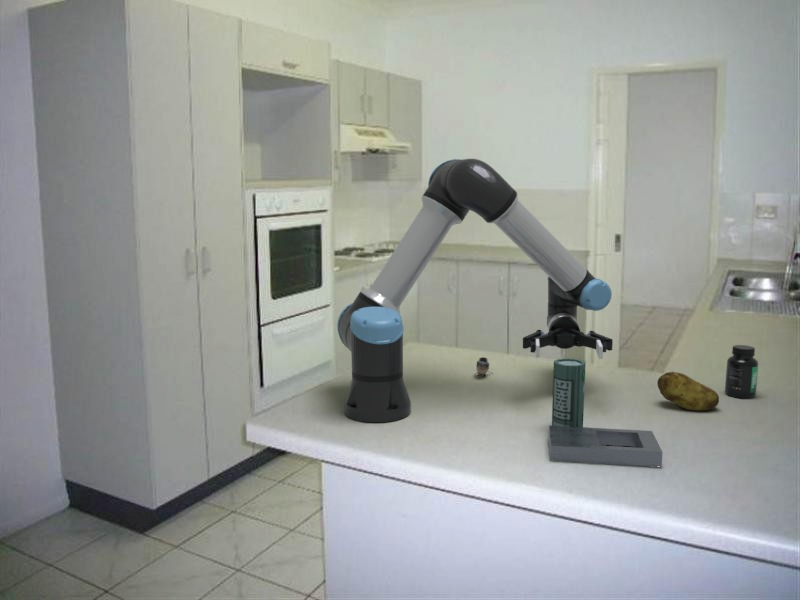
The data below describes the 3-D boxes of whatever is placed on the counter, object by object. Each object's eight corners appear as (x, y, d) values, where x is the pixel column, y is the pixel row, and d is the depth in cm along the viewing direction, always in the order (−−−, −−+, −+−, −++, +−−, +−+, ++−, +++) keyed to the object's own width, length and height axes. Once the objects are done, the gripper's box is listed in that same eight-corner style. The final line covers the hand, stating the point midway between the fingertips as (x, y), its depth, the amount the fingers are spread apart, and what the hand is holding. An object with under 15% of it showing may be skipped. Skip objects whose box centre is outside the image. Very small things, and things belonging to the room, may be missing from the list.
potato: (710, 418, 155) (713, 383, 153) (652, 406, 163) (654, 373, 161) (720, 408, 161) (723, 374, 160) (664, 397, 169) (666, 365, 168)
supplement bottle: (761, 399, 167) (765, 350, 165) (732, 399, 168) (736, 350, 165) (747, 390, 174) (751, 343, 172) (719, 390, 174) (723, 343, 172)
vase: (493, 380, 184) (491, 358, 183) (472, 381, 186) (470, 359, 185) (494, 374, 190) (492, 353, 189) (474, 375, 191) (472, 354, 190)
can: (587, 430, 147) (590, 361, 145) (572, 438, 143) (575, 367, 140) (561, 424, 151) (564, 357, 149) (546, 431, 147) (548, 362, 145)
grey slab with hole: (550, 460, 132) (550, 445, 131) (548, 439, 143) (549, 425, 142) (661, 467, 128) (662, 452, 128) (651, 445, 139) (652, 431, 139)
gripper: (615, 346, 173) (627, 369, 153) (513, 344, 178) (511, 367, 157) (616, 316, 172) (628, 336, 151) (513, 315, 176) (512, 334, 156)
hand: (569, 352), depth 154 cm, fingers open, 13 cm apart
